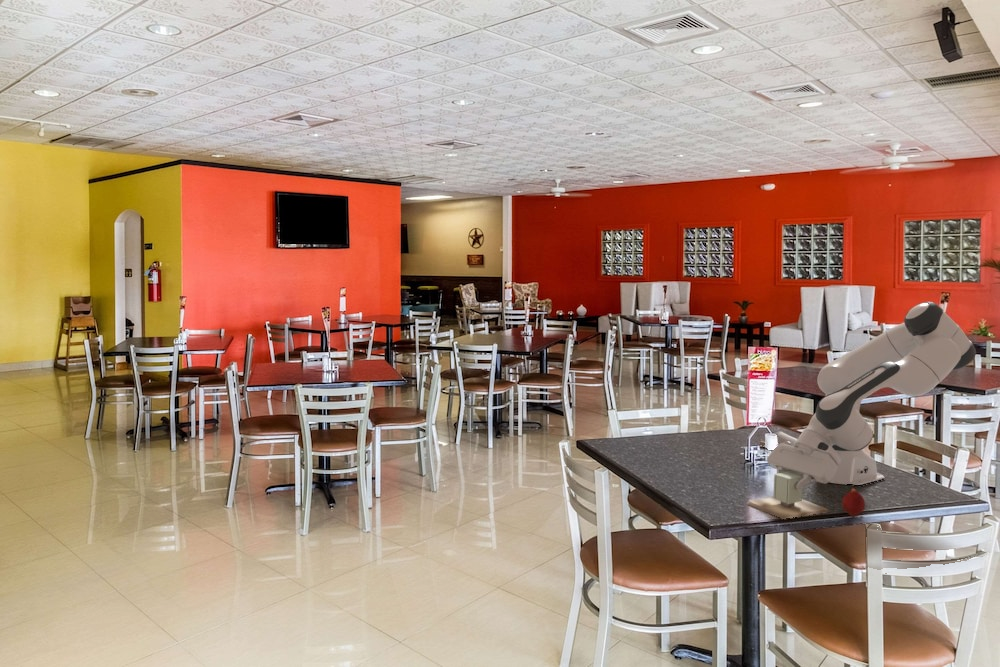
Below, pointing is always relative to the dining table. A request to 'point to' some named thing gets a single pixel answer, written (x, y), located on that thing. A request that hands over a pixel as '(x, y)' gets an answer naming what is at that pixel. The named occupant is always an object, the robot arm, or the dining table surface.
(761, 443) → the tube rack
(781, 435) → the tube
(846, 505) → the onion
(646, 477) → the dining table surface
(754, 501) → the post board
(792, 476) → the slotted sage cube
